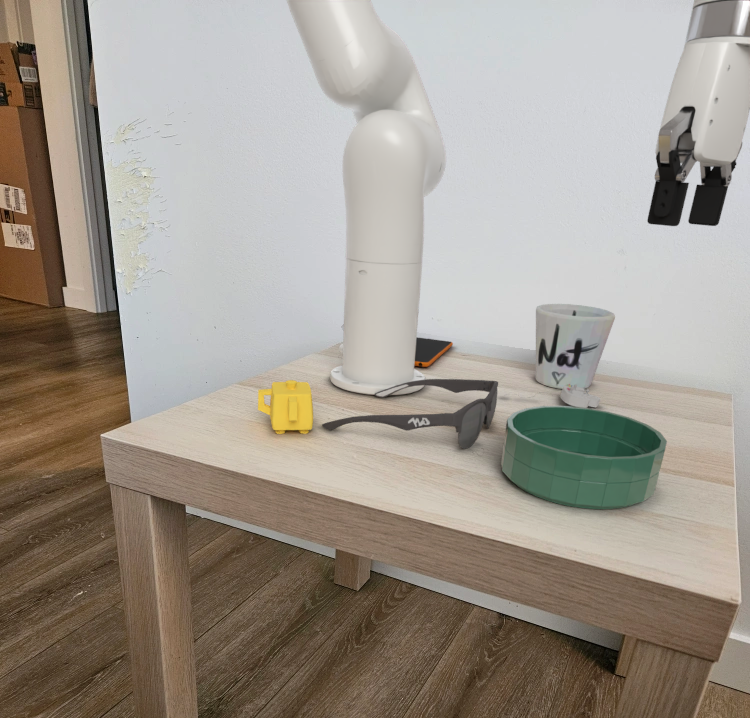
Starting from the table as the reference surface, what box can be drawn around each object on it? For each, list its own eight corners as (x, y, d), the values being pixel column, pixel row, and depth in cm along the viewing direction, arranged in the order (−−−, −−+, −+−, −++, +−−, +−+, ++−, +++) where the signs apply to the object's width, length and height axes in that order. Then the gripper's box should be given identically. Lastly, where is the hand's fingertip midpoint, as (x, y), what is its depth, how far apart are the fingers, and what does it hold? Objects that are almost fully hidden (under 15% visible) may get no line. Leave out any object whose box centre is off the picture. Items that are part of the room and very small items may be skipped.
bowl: (471, 463, 66) (477, 414, 64) (576, 444, 72) (585, 399, 70) (572, 525, 55) (584, 468, 53) (686, 496, 61) (700, 445, 59)
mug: (518, 385, 92) (529, 311, 88) (537, 363, 105) (548, 296, 101) (596, 397, 89) (612, 321, 85) (607, 372, 101) (621, 304, 97)
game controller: (606, 412, 83) (610, 391, 82) (518, 413, 81) (521, 392, 80) (585, 398, 88) (589, 378, 87) (502, 399, 87) (504, 379, 85)
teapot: (258, 415, 76) (256, 370, 73) (309, 415, 77) (310, 370, 74) (258, 441, 69) (257, 391, 66) (315, 440, 69) (316, 391, 67)
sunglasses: (467, 462, 66) (467, 413, 64) (317, 447, 72) (313, 402, 71) (509, 416, 79) (510, 374, 77) (380, 407, 86) (378, 368, 84)
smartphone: (453, 346, 112) (453, 340, 112) (428, 369, 98) (428, 363, 97) (409, 340, 114) (410, 335, 114) (378, 362, 100) (379, 356, 99)
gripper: (724, 50, 73) (684, 222, 80) (649, 19, 62) (610, 221, 69) (800, 44, 68) (750, 227, 75) (733, 10, 57) (682, 228, 64)
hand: (683, 224), depth 72 cm, fingers open, 9 cm apart
